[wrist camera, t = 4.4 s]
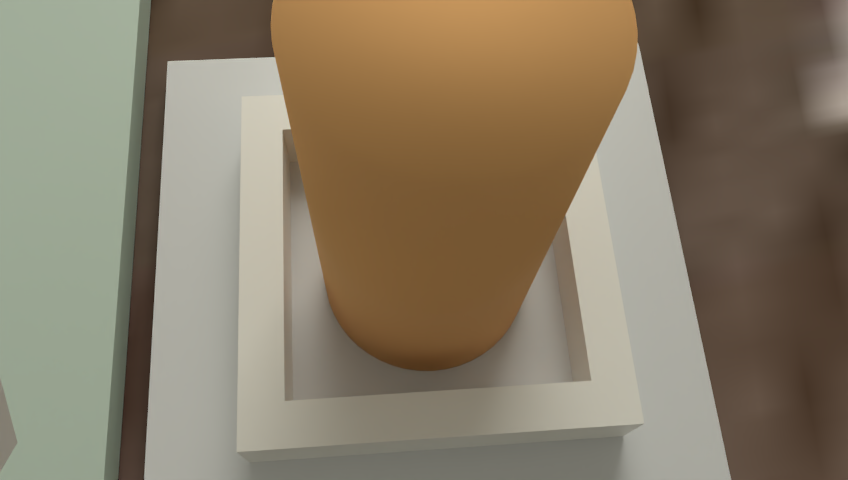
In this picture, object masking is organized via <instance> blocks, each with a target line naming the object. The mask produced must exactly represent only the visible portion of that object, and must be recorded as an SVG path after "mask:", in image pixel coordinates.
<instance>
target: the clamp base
mask: <svg viewBox="0 0 848 480" xmlns="http://www.w3.org/2000/svg"><path fill="white" fill-rule="evenodd" d="M144 480H731V477H730V472H729V467H728V463H727V458H726V453H725V449H724V444H723V439H722V434H721V430H720V425H719V420H718V416H717V411H716V406H715V402H714V397H713V392H712V388H711V383H710V378H709V373H708V369H707V364H706V359H705V355H704V350H703V345H702V341H701V336H700V331H699V326H698V322H697V317H696V312H695V308H694V303H693V298H692V294H691V289H690V284H689V279H688V275H687V270H686V265H685V261H684V256H683V251H682V247H681V242H680V237H679V232H678V228H677V223H676V218H675V214H674V209H673V204H672V200H671V195H670V190H669V185H668V181H667V176H666V171H665V167H664V162H663V157H662V153H661V148H660V143H659V138H658V134H657V129H656V124H655V120H654V115H653V110H652V106H651V101H650V96H649V91H648V87H647V82H646V77H645V73H644V68H643V63H642V59H641V54H640V49H639V44H638V43H637V54H636V60H635V65H634V71H633V73H632V76H631V79H630V82H629V85H628V87H627V90H626V92H625V94H624V96H623V98H622V100H621V102H620V104H619V106H618V108H617V110H616V113H615V115H614V117H613V119H612V121H611V123H610V125H609V127H608V129H607V131H606V133H605V135H604V137H603V139H602V141H601V143H600V145H599V147H598V149H597V151H596V153H595V156H594V158H593V160H592V162H591V164H590V166H589V168H588V170H587V172H586V174H585V176H584V178H583V180H582V182H581V184H580V186H579V188H578V190H577V192H576V194H575V196H574V199H573V201H572V203H571V205H570V207H569V209H568V211H567V213H566V215H565V217H564V219H563V221H562V223H561V225H560V227H559V229H558V231H557V233H556V235H555V237H554V239H553V242H552V244H551V246H550V248H549V250H548V252H547V254H546V256H545V258H544V260H543V262H542V264H541V266H540V268H539V270H538V272H537V274H536V276H535V278H534V280H533V282H532V284H531V287H530V289H529V291H528V293H527V295H526V297H525V299H524V301H523V303H522V305H521V307H520V309H519V311H518V313H517V315H516V317H515V319H514V321H513V323H512V324H511V326H510V328H509V329H508V330H507V332H506V333H505V334H504V336H503V337H502V338H501V339H500V340H499V341H498V342H497V343H496V344H495V345H494V346H493V347H492V348H490V349H489V350H488V351H487V352H485V353H484V354H483V355H481V356H479V357H477V358H476V359H474V360H472V361H470V362H467V363H465V364H462V365H460V366H457V367H453V368H449V369H444V370H436V371H416V370H409V369H403V368H400V367H396V366H392V365H390V364H387V363H385V362H382V361H380V360H378V359H377V358H375V357H373V356H371V355H370V354H368V353H367V352H365V351H364V350H363V349H361V348H360V347H359V346H357V345H356V344H355V343H354V342H353V341H352V340H351V339H350V338H349V337H348V335H347V334H346V333H345V331H344V330H343V329H342V327H341V326H340V324H339V323H338V321H337V319H336V317H335V316H334V313H333V311H332V308H331V306H330V303H329V299H328V295H327V291H326V287H325V282H324V277H323V273H322V268H321V264H320V259H319V255H318V250H317V246H316V241H315V237H314V232H313V227H312V223H311V218H310V214H309V209H308V205H307V200H306V196H305V191H304V187H303V182H302V177H301V173H300V168H299V164H298V159H297V155H296V150H295V146H294V141H293V136H292V132H291V127H290V123H289V118H288V114H287V109H286V105H285V100H284V96H283V91H282V86H281V82H280V77H279V73H278V68H277V64H276V59H275V57H268V58H242V59H216V60H189V61H168V67H167V84H166V102H165V119H164V137H163V155H162V172H161V190H160V208H159V225H158V243H157V260H156V278H155V296H154V313H153V331H152V349H151V366H150V384H149V402H148V419H147V437H146V454H145V472H144Z"/></svg>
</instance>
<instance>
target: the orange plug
mask: <svg viewBox="0 0 848 480" xmlns="http://www.w3.org/2000/svg"><path fill="white" fill-rule="evenodd" d="M271 34H272V46H273V50H274V55H275V59H276V64H277V68H278V73H279V77H280V82H281V86H282V91H283V96H284V100H285V105H286V109H287V114H288V118H289V123H290V127H291V132H292V136H293V141H294V146H295V150H296V155H297V159H298V164H299V168H300V173H301V177H302V182H303V187H304V191H305V196H306V200H307V205H308V209H309V214H310V218H311V223H312V227H313V232H314V237H315V241H316V246H317V250H318V255H319V259H320V264H321V268H322V273H323V277H324V282H325V287H326V291H327V295H328V299H329V303H330V306H331V308H332V311H333V313H334V316H335V317H336V319H337V321H338V323H339V324H340V326H341V327H342V329H343V330H344V331H345V333H346V334H347V335H348V337H349V338H350V339H351V340H352V341H353V342H354V343H355V344H356V345H357V346H359V347H360V348H361V349H363V350H364V351H365V352H367V353H368V354H370V355H371V356H373V357H375V358H377V359H378V360H380V361H382V362H385V363H387V364H390V365H392V366H396V367H400V368H403V369H409V370H416V371H436V370H444V369H449V368H453V367H457V366H460V365H462V364H465V363H467V362H470V361H472V360H474V359H476V358H477V357H479V356H481V355H483V354H484V353H485V352H487V351H488V350H489V349H490V348H492V347H493V346H494V345H495V344H496V343H497V342H498V341H499V340H500V339H501V338H502V337H503V336H504V334H505V333H506V332H507V330H508V329H509V328H510V326H511V324H512V323H513V321H514V319H515V317H516V315H517V313H518V311H519V309H520V307H521V305H522V303H523V301H524V299H525V297H526V295H527V293H528V291H529V289H530V287H531V284H532V282H533V280H534V278H535V276H536V274H537V272H538V270H539V268H540V266H541V264H542V262H543V260H544V258H545V256H546V254H547V252H548V250H549V248H550V246H551V244H552V242H553V239H554V237H555V235H556V233H557V231H558V229H559V227H560V225H561V223H562V221H563V219H564V217H565V215H566V213H567V211H568V209H569V207H570V205H571V203H572V201H573V199H574V196H575V194H576V192H577V190H578V188H579V186H580V184H581V182H582V180H583V178H584V176H585V174H586V172H587V170H588V168H589V166H590V164H591V162H592V160H593V158H594V156H595V153H596V151H597V149H598V147H599V145H600V143H601V141H602V139H603V137H604V135H605V133H606V131H607V129H608V127H609V125H610V123H611V121H612V119H613V117H614V115H615V113H616V110H617V108H618V106H619V104H620V102H621V100H622V98H623V96H624V94H625V92H626V90H627V87H628V85H629V82H630V79H631V76H632V73H633V71H634V65H635V60H636V54H637V34H638V31H637V24H636V16H635V11H634V7H633V4H632V0H273V4H272V15H271Z"/></svg>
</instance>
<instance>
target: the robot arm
mask: <svg viewBox="0 0 848 480" xmlns="http://www.w3.org/2000/svg"><path fill="white" fill-rule="evenodd" d="M17 443H18V442H17V439H16V435H15V431H14V427H13V424H12V420H11V416H10V412H9V409H8V405H7V401H6V397H5V394H4V390H3V386H2V382H1V379H0V471H1V470H2V468H3V466H4V465H5V463H6V461H7V460H8V458H9V456H10V455H11V453H12V451H13V450H14V448H15V446H16V444H17Z"/></svg>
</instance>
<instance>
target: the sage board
mask: <svg viewBox="0 0 848 480" xmlns="http://www.w3.org/2000/svg"><path fill="white" fill-rule="evenodd" d="M150 8H151V0H0V379H1V382H2V386H3V390H4V394H5V397H6V401H7V405H8V409H9V412H10V416H11V420H12V424H13V427H14V431H15V435H16V439H17V442H18V443H17V444H16V446H15V448H14V450H13V451H12V453H11V455H10V456H9V458H8V460H7V461H6V463H5V465H4V466H3V468H2V470H1V471H0V480H118V474H119V460H120V445H121V430H122V416H123V401H124V387H125V372H126V358H127V343H128V328H129V314H130V299H131V285H132V270H133V256H134V241H135V226H136V212H137V197H138V183H139V168H140V154H141V139H142V124H143V110H144V95H145V81H146V66H147V52H148V37H149V22H150Z"/></svg>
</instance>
